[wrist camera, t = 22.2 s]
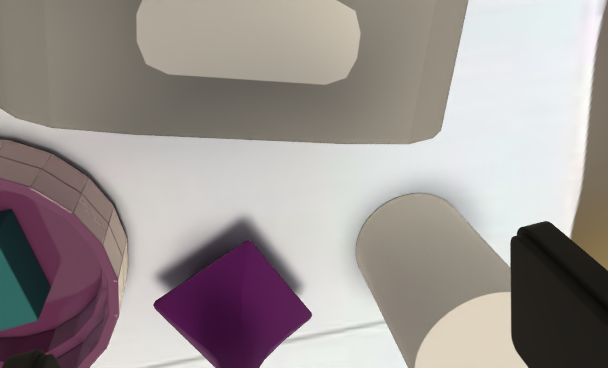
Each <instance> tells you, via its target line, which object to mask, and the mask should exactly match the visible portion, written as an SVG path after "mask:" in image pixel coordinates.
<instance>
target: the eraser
mask: <svg viewBox="0 0 608 368" xmlns="http://www.w3.org/2000/svg"><path fill="white" fill-rule="evenodd" d="M50 289H51V287H50V285H49V283H48V281H47V279H46V277H45V275H44V273H43V271H42V269H41V267H40V265H39V263H38V261H37V259H36V257H35V255H34V253H33V251H32V249H31V247H30V245H29V243H28V241H27V239H26V237H25V235H24V233H23V231H22V229H21V227H20V225H19V223H18V221H17V219H16V217H15V215H14V213H13V211H12V209H9V210H6V211H2V212H0V331H3V330H6V329H10V328H14V327H17V326H21V325H24V324H28V323H31V322H35V321H38V319H39V317H40V314H41V312H42V309H43V307H44V304H45V302H46V299H47V297H48V294H49V292H50Z"/></svg>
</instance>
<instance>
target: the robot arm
mask: <svg viewBox="0 0 608 368" xmlns="http://www.w3.org/2000/svg"><path fill="white" fill-rule="evenodd" d="M511 338H512V342H513V345H514V348H515V350H516V352H517V353H518V355H519V356H520V357H521V359H522V360H523V361H524V363H525V364H526V365H527V367H528V368H608V271H607V270H606V269H605V268H604V267H603V266H601V265H600V264H599V263H598V262H597V261H595V260H594V259H593V258H592V257H591V256H589V255H588V254H587V253H586V252H585V251H583V250H582V249H581V248H580V247H579V246H578V245H577V244H575V243H574V242H573V241H572V240H571V239H569V238H568V237H567V236H566V235H565V234H564V233H562V232H561V231H560V230H559V229H558V228H556V227H555V226H554V225H553V224H552V223H550V222H547V221H544V222H540V223H536V224H533V225H529V226H525V227H521V228H519V230H518V232H517V236H514V237H512V239H511ZM2 368H60V366H59V364H58V361H57V359H56V358H55V356H54V355H53V354H48V355H45V353H44V352H43V351H42V350H39V349H37V350H33V351H29V352H25V353H21V354H17V355H13V356H9V357H8V358H6V360H5V362H4V364H3V366H2Z"/></svg>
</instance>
